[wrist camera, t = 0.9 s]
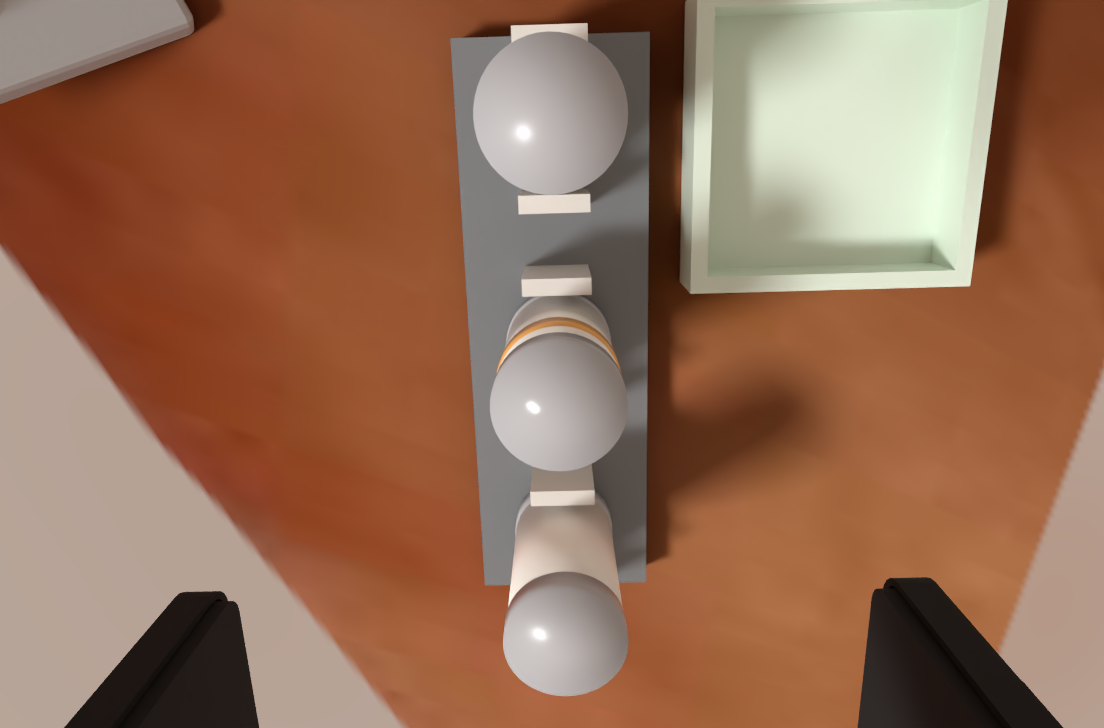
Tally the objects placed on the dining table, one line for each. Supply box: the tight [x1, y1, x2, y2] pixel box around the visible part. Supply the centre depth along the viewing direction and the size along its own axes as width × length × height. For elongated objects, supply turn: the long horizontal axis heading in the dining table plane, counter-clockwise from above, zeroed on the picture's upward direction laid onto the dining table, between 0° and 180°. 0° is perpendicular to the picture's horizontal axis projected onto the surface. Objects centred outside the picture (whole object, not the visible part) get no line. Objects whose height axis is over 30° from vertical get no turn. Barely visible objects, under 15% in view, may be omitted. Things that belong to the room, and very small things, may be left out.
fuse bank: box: [451, 23, 650, 696], centre depth 26 cm, size 22×7×9 cm, turn 2°
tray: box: [680, 0, 1008, 294], centre depth 27 cm, size 10×10×2 cm
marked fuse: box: [490, 295, 628, 471], centre depth 25 cm, size 4×4×8 cm
